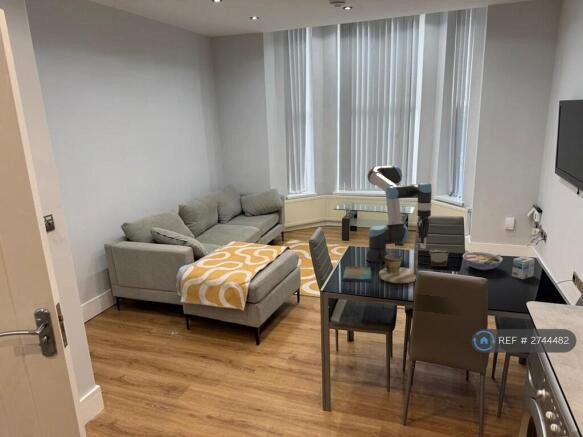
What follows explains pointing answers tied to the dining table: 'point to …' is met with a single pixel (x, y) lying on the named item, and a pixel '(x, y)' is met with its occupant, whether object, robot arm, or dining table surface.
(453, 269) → the dining table surface
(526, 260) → the light bulb box
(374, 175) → the robot arm
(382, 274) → the turntable
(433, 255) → the food container
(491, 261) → the ramen bowl
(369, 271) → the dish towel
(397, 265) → the ceramic cup
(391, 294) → the dining table surface
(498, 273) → the dining table surface
